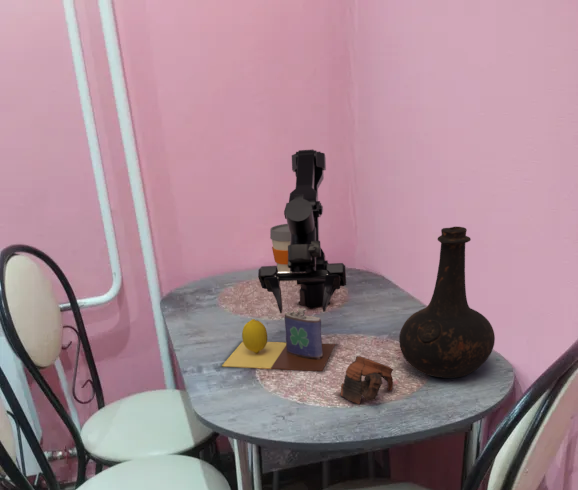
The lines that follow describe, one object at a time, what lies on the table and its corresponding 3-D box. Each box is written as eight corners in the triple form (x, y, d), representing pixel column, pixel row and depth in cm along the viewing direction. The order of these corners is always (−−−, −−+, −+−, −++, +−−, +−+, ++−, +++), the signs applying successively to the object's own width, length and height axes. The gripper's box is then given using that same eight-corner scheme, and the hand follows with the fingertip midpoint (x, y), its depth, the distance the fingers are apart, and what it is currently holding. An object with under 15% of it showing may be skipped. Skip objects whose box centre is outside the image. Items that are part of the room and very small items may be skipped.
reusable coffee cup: (320, 272, 191) (318, 224, 185) (300, 283, 182) (296, 233, 175) (287, 268, 198) (283, 222, 191) (265, 279, 188) (261, 230, 182)
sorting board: (242, 342, 142) (242, 340, 142) (335, 345, 136) (335, 344, 136) (222, 366, 130) (221, 365, 130) (322, 371, 124) (322, 370, 124)
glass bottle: (382, 374, 121) (381, 233, 109) (429, 345, 133) (433, 215, 120) (463, 397, 110) (473, 243, 98) (507, 363, 121) (521, 222, 109)
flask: (325, 356, 130) (322, 309, 125) (317, 361, 128) (314, 313, 123) (291, 348, 135) (287, 303, 131) (283, 353, 133) (279, 307, 129)
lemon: (270, 356, 132) (266, 322, 129) (244, 359, 132) (241, 325, 128) (267, 347, 137) (264, 313, 134) (243, 349, 137) (239, 316, 133)
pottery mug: (331, 391, 117) (345, 350, 116) (374, 405, 119) (389, 366, 118) (349, 403, 105) (365, 358, 104) (396, 419, 108) (413, 375, 107)
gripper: (255, 229, 127) (252, 296, 122) (344, 224, 125) (344, 292, 120) (263, 256, 138) (261, 319, 133) (345, 252, 135) (346, 316, 130)
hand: (302, 311), depth 129 cm, fingers open, 9 cm apart
